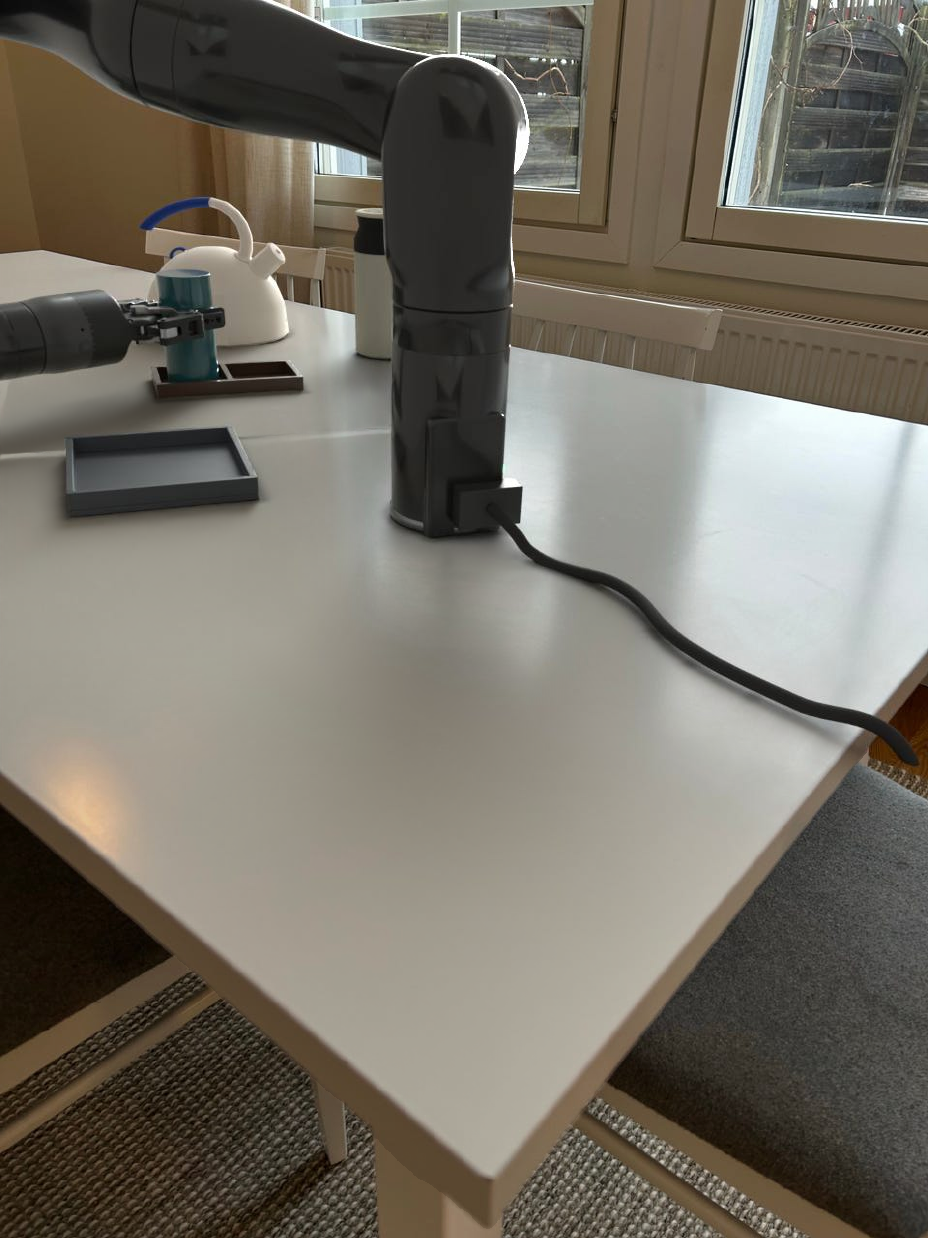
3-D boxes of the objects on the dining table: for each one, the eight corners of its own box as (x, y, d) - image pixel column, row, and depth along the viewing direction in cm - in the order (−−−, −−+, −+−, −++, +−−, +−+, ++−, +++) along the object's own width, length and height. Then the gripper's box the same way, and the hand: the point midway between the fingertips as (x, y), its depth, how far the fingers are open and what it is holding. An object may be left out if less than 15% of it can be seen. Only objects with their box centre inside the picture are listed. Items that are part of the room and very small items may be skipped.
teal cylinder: (222, 386, 109) (213, 276, 103) (170, 389, 107) (157, 277, 101) (216, 374, 114) (206, 268, 108) (165, 376, 112) (153, 269, 106)
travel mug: (346, 356, 128) (342, 211, 119) (369, 344, 135) (368, 206, 126) (400, 362, 126) (401, 215, 117) (422, 350, 132) (424, 210, 124)
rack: (303, 392, 111) (303, 376, 110) (158, 401, 106) (156, 384, 105) (289, 374, 118) (289, 359, 117) (152, 382, 113) (150, 366, 112)
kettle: (264, 353, 128) (255, 207, 119) (119, 342, 130) (99, 198, 122) (309, 323, 145) (304, 195, 137) (180, 314, 148) (167, 187, 139)
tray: (259, 499, 81) (257, 477, 81) (69, 517, 77) (65, 493, 76) (233, 444, 94) (231, 424, 93) (69, 457, 89) (65, 436, 88)
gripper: (103, 304, 91) (243, 286, 103) (26, 284, 99) (164, 270, 111) (114, 382, 95) (248, 356, 106) (39, 357, 103) (171, 335, 114)
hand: (204, 312), depth 109 cm, fingers closed on teal cylinder, 6 cm apart
